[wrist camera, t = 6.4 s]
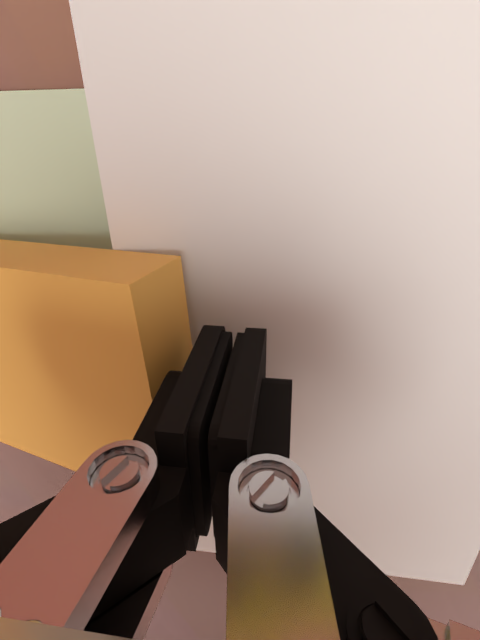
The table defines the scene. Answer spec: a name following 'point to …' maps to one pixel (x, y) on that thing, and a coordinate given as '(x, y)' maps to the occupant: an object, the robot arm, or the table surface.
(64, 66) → the table surface
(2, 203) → the mat
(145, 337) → the yellow orange rectangular block
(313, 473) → the white flat block
